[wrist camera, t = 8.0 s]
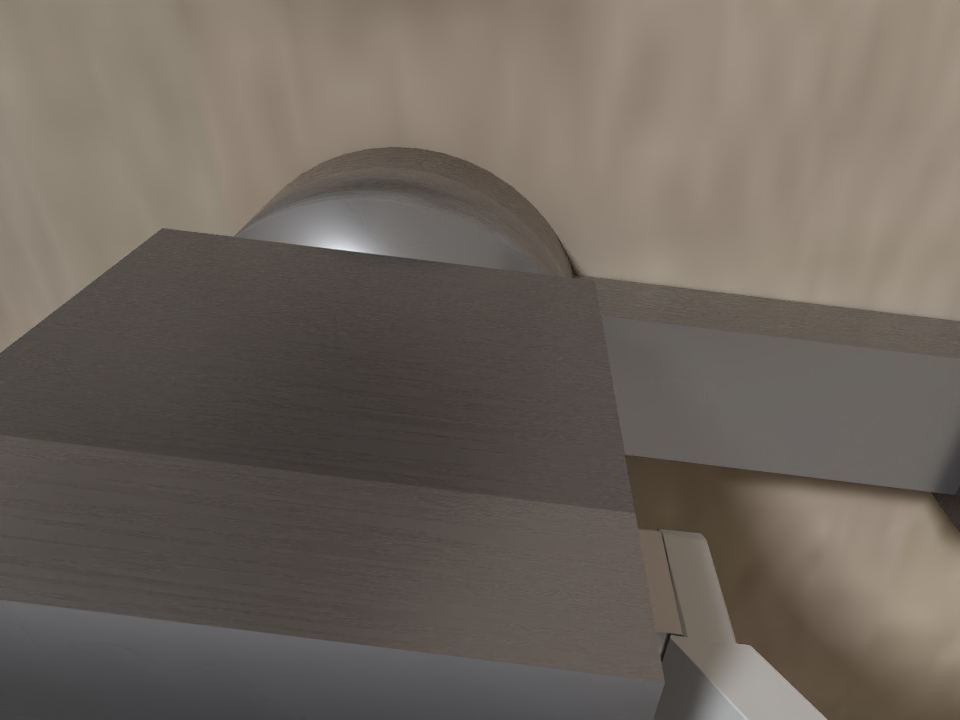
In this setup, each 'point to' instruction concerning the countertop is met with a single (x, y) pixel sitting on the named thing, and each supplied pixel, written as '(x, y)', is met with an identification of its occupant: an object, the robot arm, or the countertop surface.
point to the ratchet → (672, 334)
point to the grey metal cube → (318, 495)
